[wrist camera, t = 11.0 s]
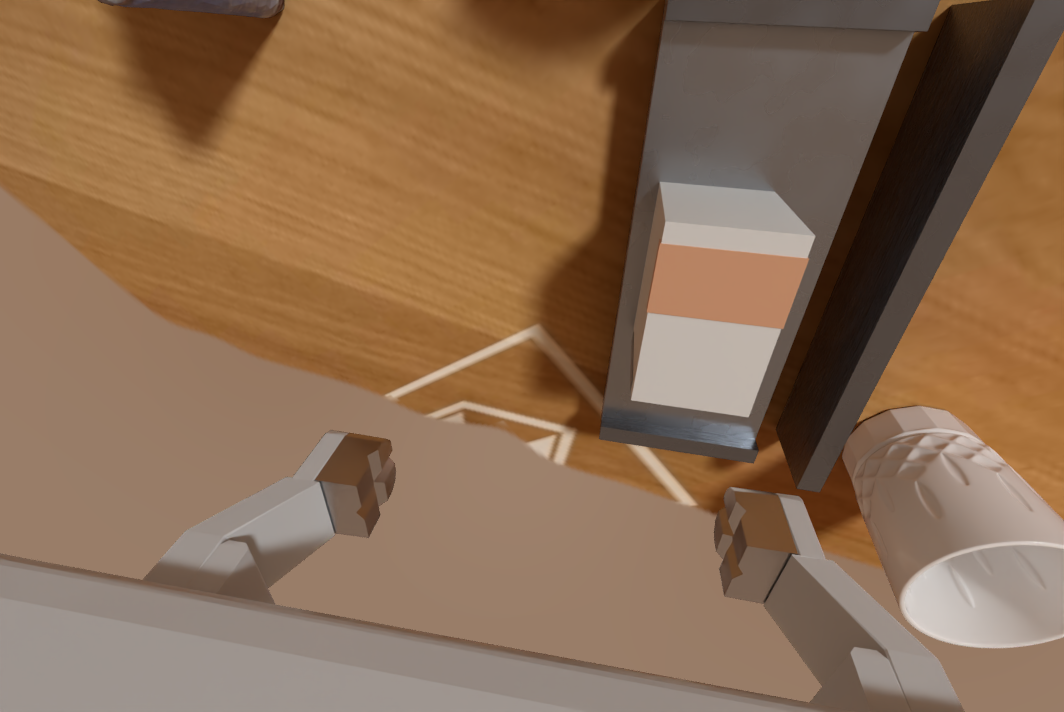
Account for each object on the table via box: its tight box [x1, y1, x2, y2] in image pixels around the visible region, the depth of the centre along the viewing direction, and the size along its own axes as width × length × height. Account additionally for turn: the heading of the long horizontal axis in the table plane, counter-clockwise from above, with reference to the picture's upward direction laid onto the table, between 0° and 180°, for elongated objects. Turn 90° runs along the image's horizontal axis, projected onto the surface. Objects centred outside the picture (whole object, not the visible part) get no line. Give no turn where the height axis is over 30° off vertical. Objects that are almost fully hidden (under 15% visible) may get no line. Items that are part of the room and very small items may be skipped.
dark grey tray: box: [599, 0, 1064, 492], centre depth 24 cm, size 12×22×5 cm, turn 177°
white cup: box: [842, 406, 1064, 648], centre depth 26 cm, size 8×8×10 cm
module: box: [630, 182, 815, 417], centre depth 22 cm, size 5×8×6 cm, turn 178°
